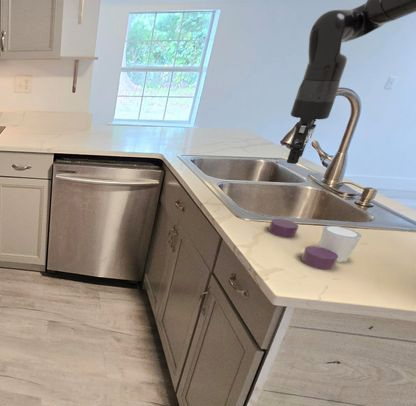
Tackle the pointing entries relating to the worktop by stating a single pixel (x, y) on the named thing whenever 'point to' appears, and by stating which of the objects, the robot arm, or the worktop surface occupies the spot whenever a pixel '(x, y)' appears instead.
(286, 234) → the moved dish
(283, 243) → the worktop surface
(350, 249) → the shot glass
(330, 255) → the purple short cylinder
